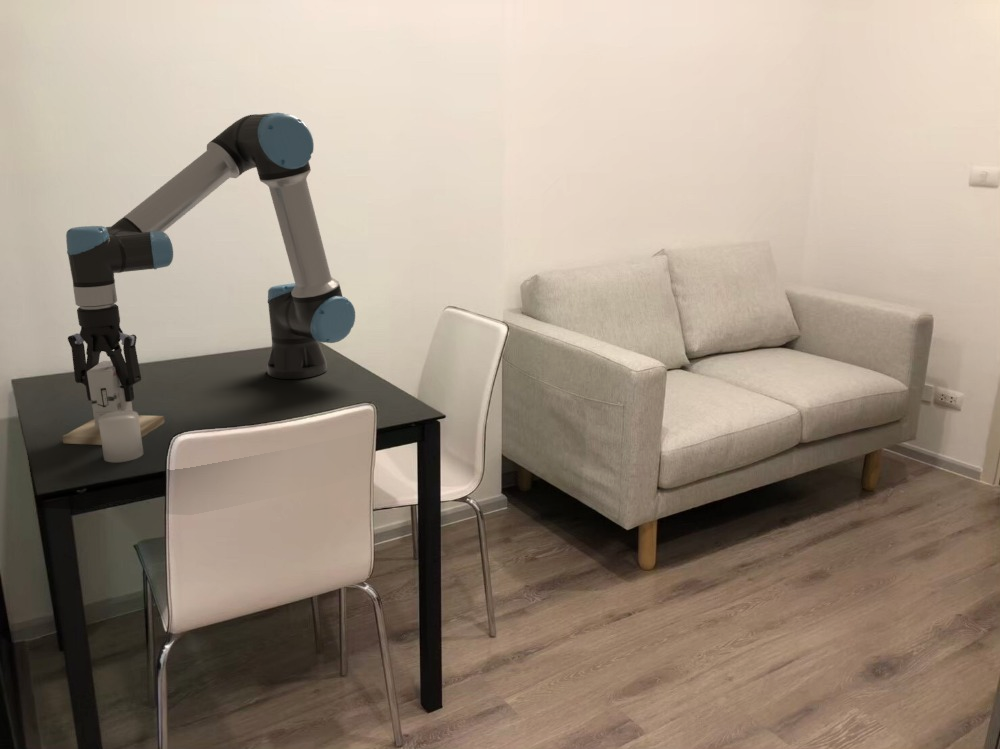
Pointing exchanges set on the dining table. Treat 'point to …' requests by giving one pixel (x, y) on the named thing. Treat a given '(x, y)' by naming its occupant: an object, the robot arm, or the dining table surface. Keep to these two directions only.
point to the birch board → (92, 433)
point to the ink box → (104, 389)
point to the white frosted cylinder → (120, 436)
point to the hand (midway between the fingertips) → (113, 415)
